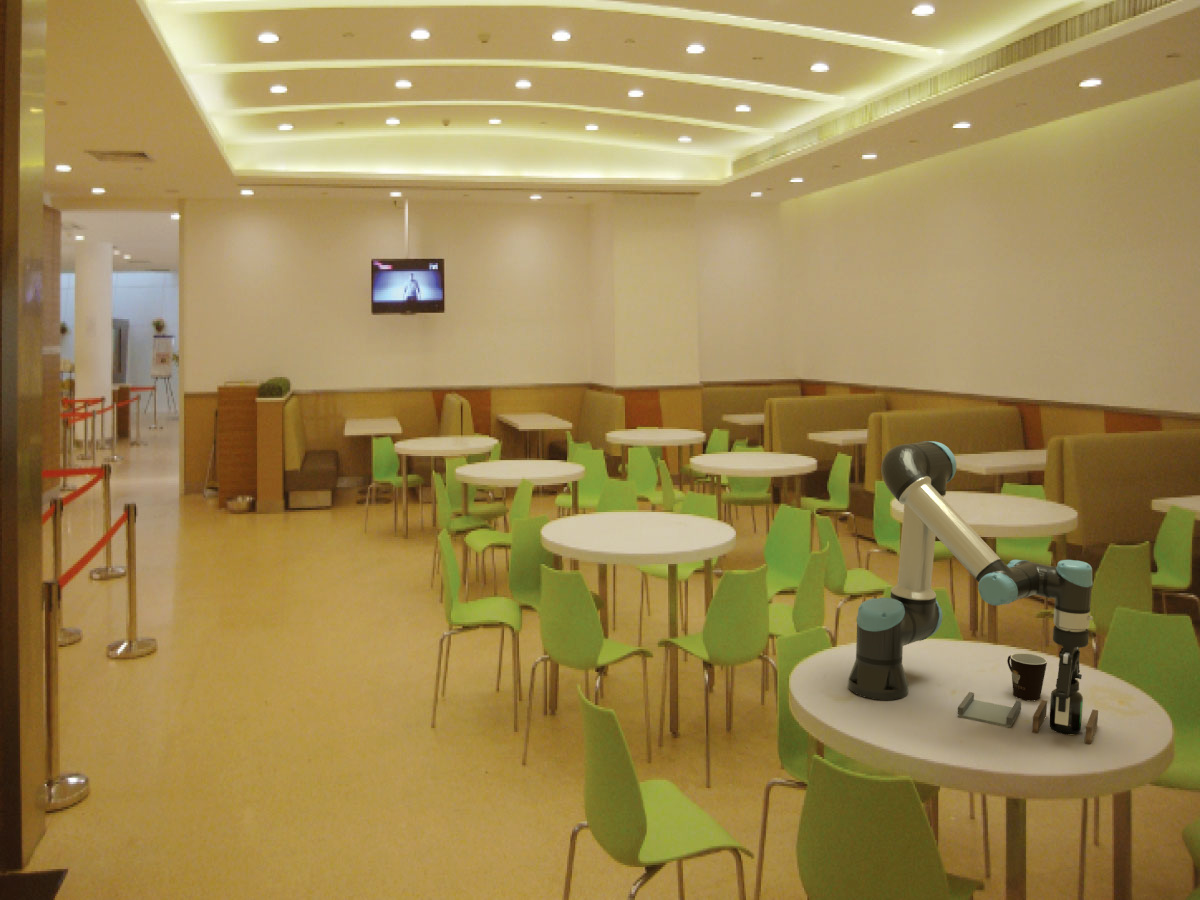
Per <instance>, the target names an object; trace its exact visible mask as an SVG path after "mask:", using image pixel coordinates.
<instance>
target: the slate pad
mask: <svg viewBox="0 0 1200 900" xmlns="http://www.w3.org/2000/svg"><path fill="white" fill-rule="evenodd" d="M1021 710H1022V701H1018V700H1016V701H1015V702H1014V704H1013V706H1007V705H1002V704H998V703H991V702H987V701H983V700H982V701H981V700H977V699H975V693H974V692H971V691H968V693H967V694H966V695H965V697H964V698H963V700H962V701H961V702H960V704H959V705H958V707H957V716H958V718H963V719H968V720H972V721H977V722H981V723H987V724H991V725H995V726H1000V727H1006V728H1010V729H1011V727H1012V726H1013V724H1014V723H1015V721H1016V719H1017V717H1018V715H1019V714H1020V712H1021Z"/></svg>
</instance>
